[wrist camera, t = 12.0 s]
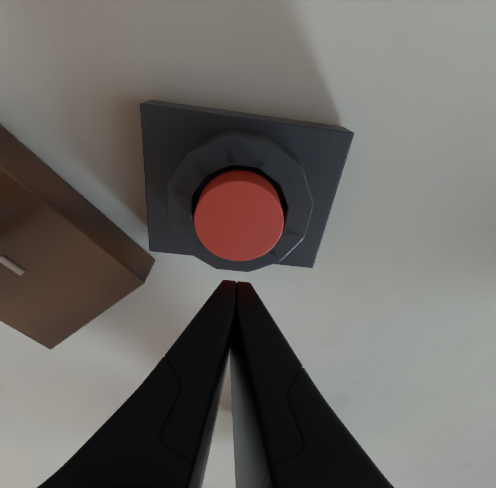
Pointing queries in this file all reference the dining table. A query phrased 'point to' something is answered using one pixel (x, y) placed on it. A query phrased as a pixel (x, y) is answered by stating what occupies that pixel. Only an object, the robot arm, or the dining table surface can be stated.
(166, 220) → the button box
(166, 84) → the dining table surface
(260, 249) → the button
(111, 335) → the dining table surface
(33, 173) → the base
